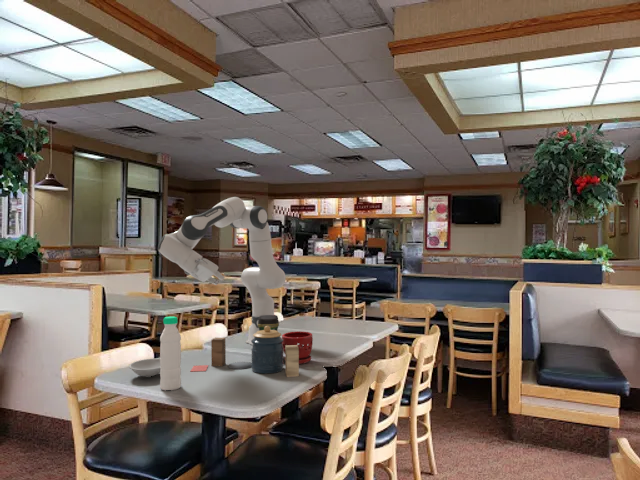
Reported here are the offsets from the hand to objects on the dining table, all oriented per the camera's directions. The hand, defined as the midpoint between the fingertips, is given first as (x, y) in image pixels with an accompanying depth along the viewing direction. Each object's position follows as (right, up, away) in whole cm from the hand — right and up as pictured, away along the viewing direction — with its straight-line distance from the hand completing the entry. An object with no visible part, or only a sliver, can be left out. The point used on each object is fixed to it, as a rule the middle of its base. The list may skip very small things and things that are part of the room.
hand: (220, 281), depth 205 cm
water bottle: (-10, -35, -36) cm, 51 cm away
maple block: (+32, -34, -20) cm, 51 cm away
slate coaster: (+10, -35, -5) cm, 36 cm away
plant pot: (+33, -35, +1) cm, 48 cm away
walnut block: (0, -35, -3) cm, 35 cm away
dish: (-23, -35, -21) cm, 47 cm away
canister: (+21, -35, -12) cm, 42 cm away
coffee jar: (+19, -35, +12) cm, 42 cm away
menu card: (-7, -35, -9) cm, 37 cm away
